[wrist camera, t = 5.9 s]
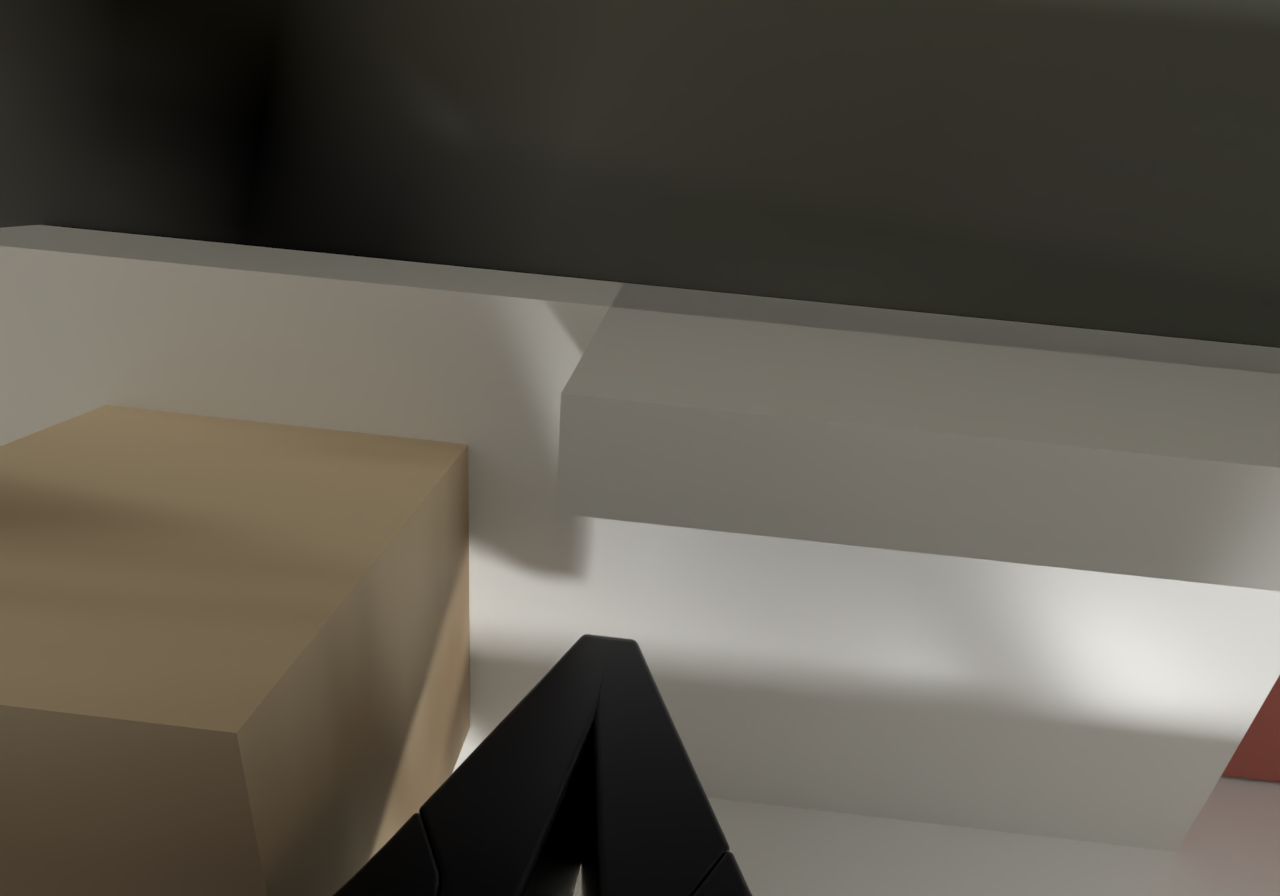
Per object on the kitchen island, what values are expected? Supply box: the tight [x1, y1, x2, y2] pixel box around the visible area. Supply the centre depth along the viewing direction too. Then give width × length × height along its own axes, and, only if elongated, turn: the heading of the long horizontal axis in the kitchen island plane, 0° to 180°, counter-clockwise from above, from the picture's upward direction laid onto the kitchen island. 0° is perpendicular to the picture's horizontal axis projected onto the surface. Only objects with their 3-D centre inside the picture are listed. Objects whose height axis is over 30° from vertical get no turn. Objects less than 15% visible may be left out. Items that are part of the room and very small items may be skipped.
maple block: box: [0, 405, 470, 896], centre depth 8 cm, size 5×5×5 cm
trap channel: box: [0, 225, 1280, 896], centre depth 9 cm, size 9×27×6 cm, turn 85°
